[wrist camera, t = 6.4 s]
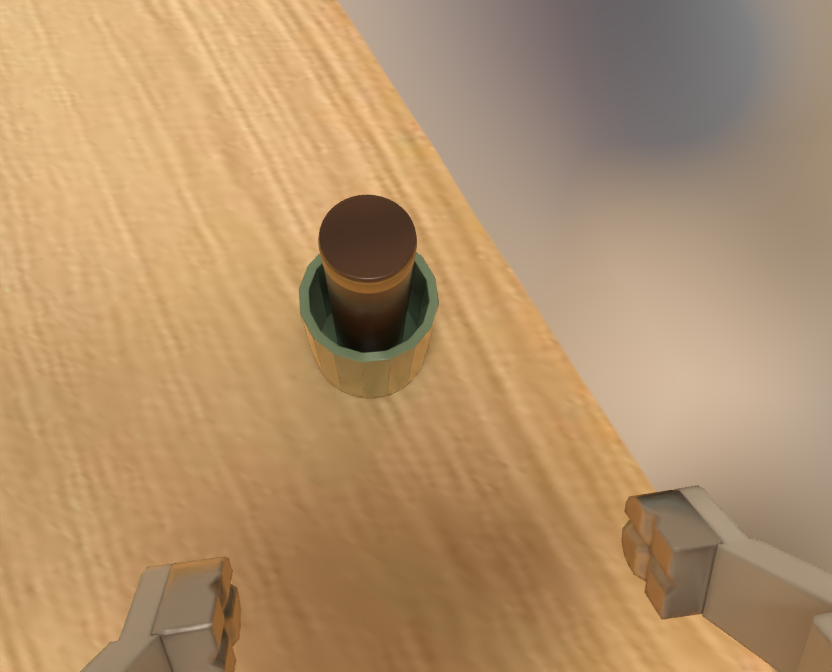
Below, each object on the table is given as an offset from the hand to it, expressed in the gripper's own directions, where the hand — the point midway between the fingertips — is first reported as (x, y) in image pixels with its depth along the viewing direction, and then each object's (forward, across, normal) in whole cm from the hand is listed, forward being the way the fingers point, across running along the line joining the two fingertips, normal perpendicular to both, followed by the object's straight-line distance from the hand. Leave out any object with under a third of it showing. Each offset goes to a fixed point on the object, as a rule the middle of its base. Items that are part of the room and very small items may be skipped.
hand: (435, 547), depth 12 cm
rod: (+24, 0, +7) cm, 25 cm away
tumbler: (+25, 0, +7) cm, 26 cm away
